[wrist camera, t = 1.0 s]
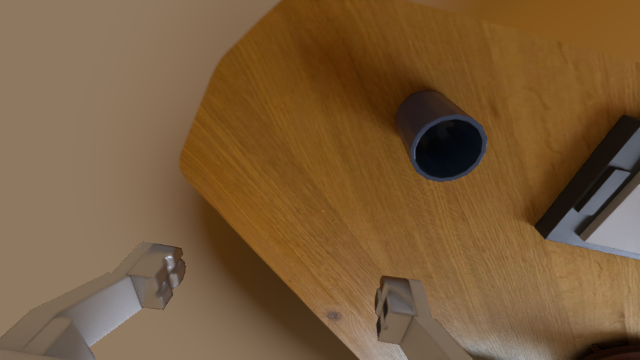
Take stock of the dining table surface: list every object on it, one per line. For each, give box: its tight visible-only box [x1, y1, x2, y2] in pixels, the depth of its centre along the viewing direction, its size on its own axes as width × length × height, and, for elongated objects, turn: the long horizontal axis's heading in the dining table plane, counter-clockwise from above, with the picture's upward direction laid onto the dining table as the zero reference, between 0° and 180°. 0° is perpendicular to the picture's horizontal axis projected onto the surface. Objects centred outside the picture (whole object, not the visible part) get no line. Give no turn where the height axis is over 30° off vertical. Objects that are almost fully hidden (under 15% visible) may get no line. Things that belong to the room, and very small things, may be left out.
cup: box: [395, 90, 487, 182], centre depth 28 cm, size 6×6×9 cm
